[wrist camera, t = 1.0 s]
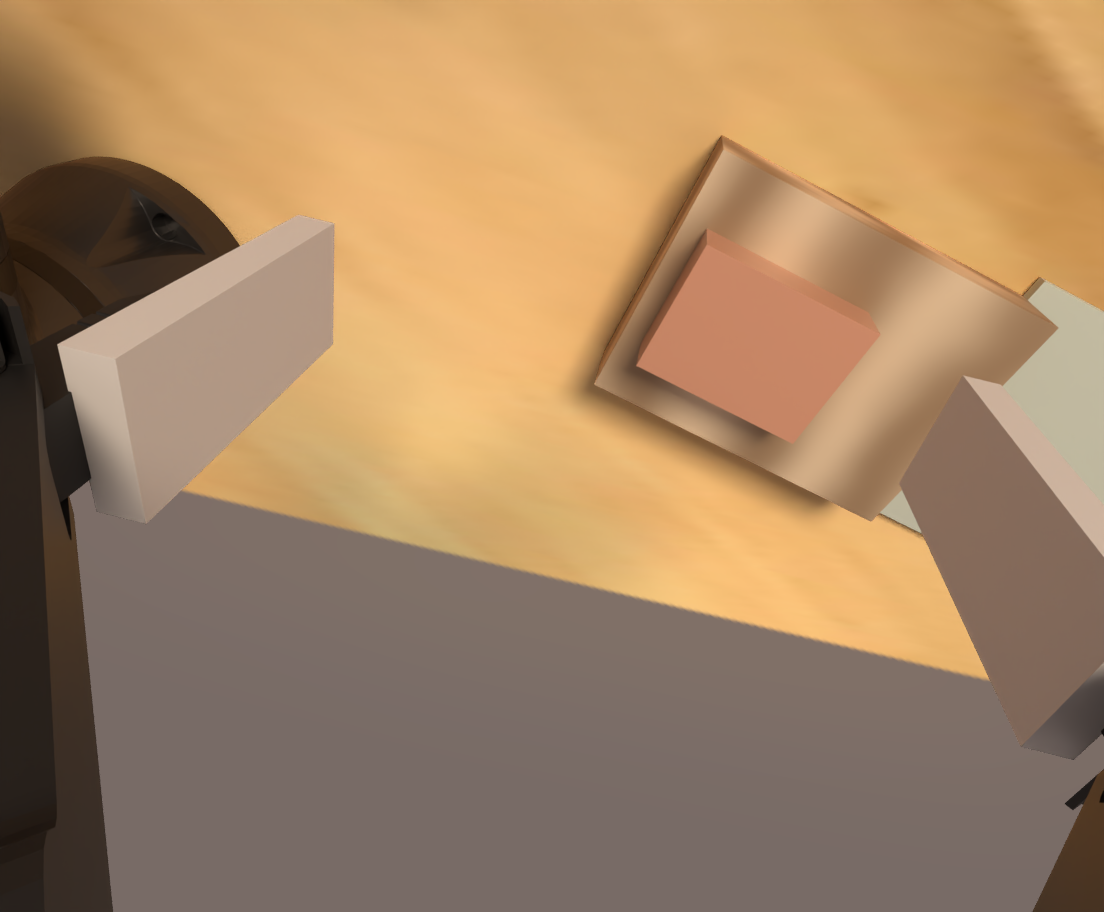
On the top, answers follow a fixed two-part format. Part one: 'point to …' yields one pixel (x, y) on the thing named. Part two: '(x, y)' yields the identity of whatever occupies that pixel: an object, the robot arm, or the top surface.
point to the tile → (755, 338)
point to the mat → (1058, 389)
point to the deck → (859, 278)
